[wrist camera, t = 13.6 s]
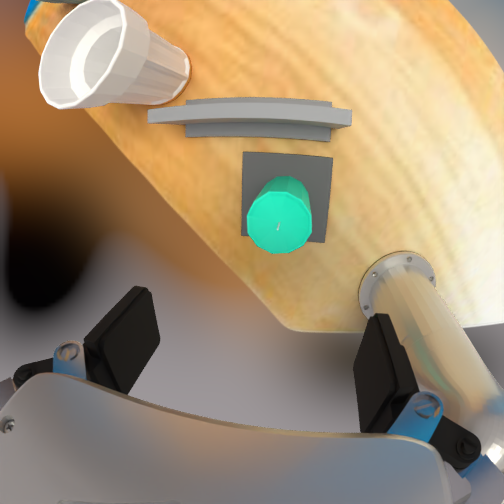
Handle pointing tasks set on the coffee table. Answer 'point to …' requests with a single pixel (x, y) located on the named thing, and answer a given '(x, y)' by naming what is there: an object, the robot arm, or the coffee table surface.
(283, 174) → the mat
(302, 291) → the coffee table surface
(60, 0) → the flower pot
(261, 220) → the candle
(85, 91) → the cup
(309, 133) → the board
